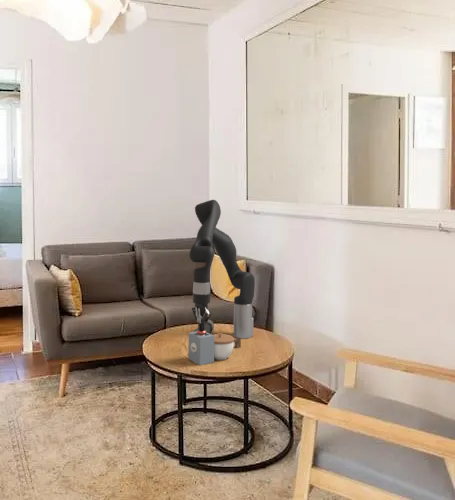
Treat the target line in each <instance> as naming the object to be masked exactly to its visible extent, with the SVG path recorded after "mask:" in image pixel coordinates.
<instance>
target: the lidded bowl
mask: <svg viewBox="0 0 455 500" xmlns="http://www.w3.org/2000/svg"><path fill="white" fill-rule="evenodd" d="M212 335H214V360H217V361H219V360H220V361H222V360H227V359H228V358H229V357H230V356H231V354H232V353H233V350H234V348H235V342H234V338H235V337H234V336H233V335H229V334H225V333H224V334H223V333H221V332H219V333H214V334H213V333H212Z"/></svg>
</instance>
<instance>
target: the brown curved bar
mask: <svg viewBox="0 0 455 500" xmlns="http://www.w3.org/2000/svg"><path fill="white" fill-rule="evenodd" d="M241 343H242V338H239V337H237V338H236V337H234V348H236V349H240V348H241V347H242V345H241Z"/></svg>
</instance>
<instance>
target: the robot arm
mask: <svg viewBox="0 0 455 500" xmlns="http://www.w3.org/2000/svg"><path fill="white" fill-rule="evenodd" d="M194 212H195V214H196V215H195V216H196V217H197V219H198V221H199V223H200V224H201V226H200V228H199V229H198V232H197V234H196V239H195V241H194V243H193V244H192V247H190V250H189V254H188V255H189V260H190V261H191V262H193V263H201V264H202V263H205V265H204V266H201V267H196V268H194V270H193V285H192V286H193V287H192V303H193V304H194V307H191V311H192V313H193V317H194V320H195V321H197V328H198V331H204V323H205V322H208V320H210V317H211V315H212V312H210V311H209V304H210V302H211V269H212V265H213V261H214V258H215V251H216V253H217V255H218V256H219V258H220V260H221V262H222V265H223V266H224V268H225V271H226V273H227V276H228V278H229V281H230V284H231V286H232V287H234V288H235V289H237V290H239V295H236V296H235V297H234V298H233V334H232V336H233V337H234V338H237V337H239V338H241V339H250V338H251V337H253V336H254V317H253V300H254V297H255V285H256V284H255V283H256V282H255V276H254V275H253V273H251V272H248V271H243V270H241V268H240V266H239V264H238V262H237V248H236V246H235V243H234V242H233V240H232V238H231V237H230V236H229V234H227V233H226V232H224V231H223V230H220V229H219V228H217V225H218V222H219V219H220V218H221V216H222V215H221V214H222V210H221V207H220V203H218V201H217V200H216V199H210V200H207V201H205V202H201V203H199V204H196V205H195V207H194ZM212 245H213V247H214V248H213V247H212Z"/></svg>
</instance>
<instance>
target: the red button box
mask: <svg viewBox="0 0 455 500" xmlns="http://www.w3.org/2000/svg"><path fill="white" fill-rule="evenodd" d="M189 359H190V360H189ZM188 360H189V361H192V362H193V363H195V364H196V365H199V366H205V365H208V364H214V363H215V359H214V335H213V334H209V333H207V332H206V334H205V336H200V337H199V336H198V334H197V332H193V331H191V332H188Z"/></svg>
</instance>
